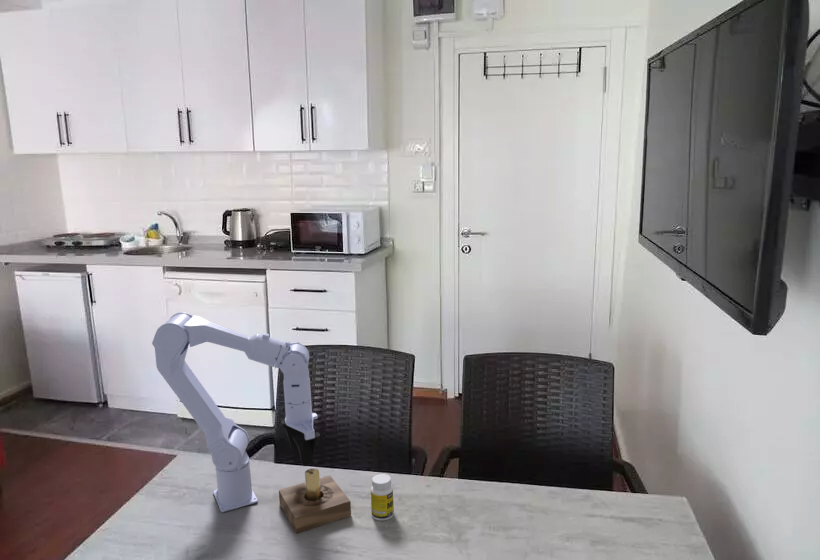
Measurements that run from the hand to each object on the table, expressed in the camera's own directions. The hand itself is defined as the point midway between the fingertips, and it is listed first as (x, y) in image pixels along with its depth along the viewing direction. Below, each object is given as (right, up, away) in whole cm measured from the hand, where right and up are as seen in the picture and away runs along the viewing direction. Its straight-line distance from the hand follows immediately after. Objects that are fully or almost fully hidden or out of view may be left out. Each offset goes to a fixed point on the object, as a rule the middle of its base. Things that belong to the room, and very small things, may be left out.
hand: (301, 456), depth 134 cm
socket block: (+4, -10, -4) cm, 12 cm away
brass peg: (+3, -9, -4) cm, 11 cm away
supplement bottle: (+18, -11, -6) cm, 22 cm away
